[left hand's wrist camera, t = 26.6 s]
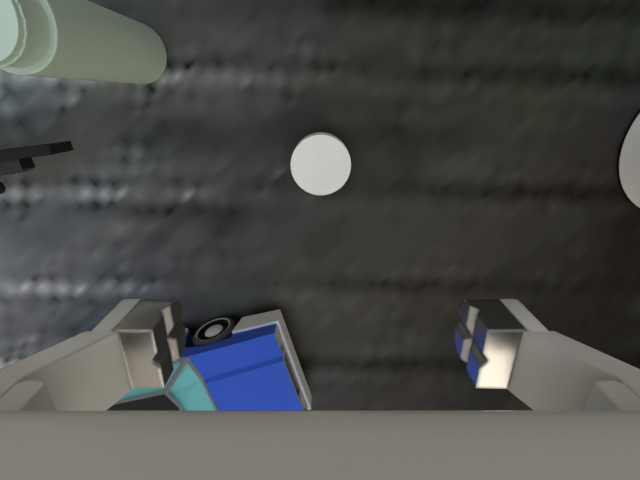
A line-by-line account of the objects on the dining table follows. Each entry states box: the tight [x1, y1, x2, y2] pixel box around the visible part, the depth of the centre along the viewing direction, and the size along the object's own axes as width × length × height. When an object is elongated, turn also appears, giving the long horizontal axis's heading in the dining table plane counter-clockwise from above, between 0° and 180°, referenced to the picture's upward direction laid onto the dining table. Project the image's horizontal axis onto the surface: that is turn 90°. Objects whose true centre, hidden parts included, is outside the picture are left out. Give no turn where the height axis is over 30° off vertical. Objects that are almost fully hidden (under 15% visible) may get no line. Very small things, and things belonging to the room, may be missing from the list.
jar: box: [0, 0, 167, 84], centre depth 25 cm, size 5×5×17 cm
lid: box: [291, 132, 351, 195], centre depth 35 cm, size 6×6×2 cm
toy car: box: [106, 309, 311, 411], centre depth 41 cm, size 14×30×10 cm, turn 105°
